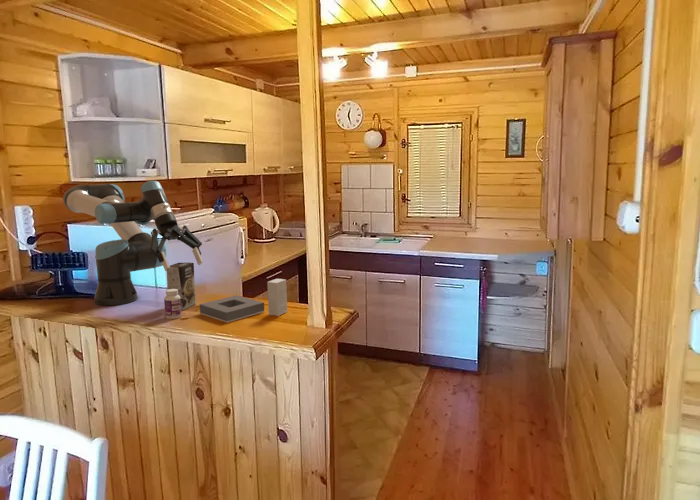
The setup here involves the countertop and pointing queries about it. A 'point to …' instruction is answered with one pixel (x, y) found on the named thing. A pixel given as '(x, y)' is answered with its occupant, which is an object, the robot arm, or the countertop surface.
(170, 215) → the robot arm
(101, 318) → the countertop surface
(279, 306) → the skincare box
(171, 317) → the pill bottle
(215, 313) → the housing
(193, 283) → the coffee box
